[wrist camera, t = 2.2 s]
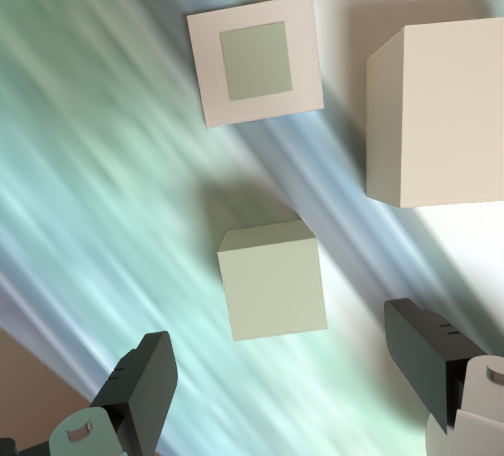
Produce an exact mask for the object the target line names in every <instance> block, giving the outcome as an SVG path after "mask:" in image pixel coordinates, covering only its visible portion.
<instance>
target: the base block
mask: <svg viewBox="0 0 504 456" xmlns="http://www.w3.org/2000/svg"><path fill="white" fill-rule="evenodd" d="M366 197H369V198H372V199H375V200H378V201H381V202H384V203H387V204H390V205H393V206H396V207H399V208H407V207H420V206H434V205H448V204H461V203H475V202H489V201H502V200H504V17H498V18H486V19H475V20H463V21H452V22H440V23H429V24H418V25H406V26H404V27H402V28H401V29H400V30H399V31H398V32H397V33H396V34H395V35H393V36H392V37H391V38H390V39H389V40H388V41H387V42H386V43H385V44H383V45H382V46H381V47H380V48H379V49H378V50H377V51H376V52H375V53H373V54H372V55H371V56H370V57H369V58H368V59H367V60H366Z"/></svg>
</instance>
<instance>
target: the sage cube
mask: <svg viewBox="0 0 504 456" xmlns="http://www.w3.org/2000/svg"><path fill="white" fill-rule="evenodd" d="M217 254H218V260H219V265H220V270H221V276H222V281H223V286H224V292H225V297H226V302H227V308H228V313H229V318H230V324H231V329H232V334H233V340H234V341H241V340H248V339H255V338H263V337H270V336H278V335H285V334H292V333H300V332H307V331H315V330H322V329H327V322H326V313H325V305H324V296H323V288H322V279H321V271H320V262H319V254H318V246H317V238H316V236H315V235H314V234H313V232H312V231H311V230H310V229H309V227H308V226H307V225H306V224H305V222H304V221H303V220H295V221H288V222H282V223H275V224H269V225H262V226H255V227H249V228H242V229H236V230H229V231H226V233H225V235H224V237H223V240H222V242H221V245H220V247H219V249H218V252H217Z"/></svg>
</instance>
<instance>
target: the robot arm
mask: <svg viewBox="0 0 504 456" xmlns="http://www.w3.org/2000/svg"><path fill="white" fill-rule="evenodd" d="M384 314H385V328H386V341H387V346H388V349H389V352H390V354H391V356H392V358H393V360H394V361H395V362H396V364H397V365H398V367H399V368H400V370H401V371H402V372H403V374H404V375H405V377H406V378H407V380H408V381H409V382H410V384H411V385H412V387H413V388H414V390H415V391H416V393H417V394H418V395H419V397H420V398H421V400H422V401H423V403H424V404H425V405H426V407H427V408H428V410H429V411H430V413H431V414H432V415H433V417H434V418H435V420H436V421H437V423H438V424H439V425H440V427H441V428H442V430H443V431H444V433H445V434H446V435H447V436H453V440H452V446H451V452H450V456H504V357H499V356H492V355H487V354H486V353H485V352H484V351H482V350H481V349H480V348H479V347H478V346H476V345H475V344H474V343H473V342H472V341H470V340H469V339H468V338H467V337H466V336H465V335H463V334H462V333H460V332H459V330H457V329H456V328H455V327H454V326H451V324H450V323H449V322H448V321H447V320H445V319H444V318H443V317H442V316H440V315H438V314H436V313H434V312H431V311H429V310H427V309H424V310H421V309H420V308H419V307H417V306H416V305H415V304H414V303H413V302H412V301H411V300H410V299H408V298H401V299H394V300H387V301H385V303H384ZM177 380H178V372H177V366H176V361H175V357H174V353H173V348H172V344H171V340H170V336H169V333H168V332H167V331H162V332H155V333H148V334H145V336H144V337H143V339H142V340H141V342H140V344H139V345H138V347H137V349H132V350H131V351H130V352H128V353H127V354H126V355H125V356H124V357H123V358H121V359H120V361H119V362H118V364H117V365H116V367H115V368H114V371H113V372H112V373H111V375H110V376H109V378H108V380H107V381H106V382H105V384H104V385H103V387H102V388H101V390H100V391H99V393H98V394H97V396H96V397H95V399H94V400H93V402H92V403H91V405H90V407H89V408H86V409H84V410H81V411H78V412H76V413H75V414H73V415H71V416H70V417H68V418H66V419H65V420H64V421H63V422H61V423H60V424H59V425H58V426H57V428H56V429H55V430H54V431H53V433H52V435H51V437H50V439H49V441H46V442H44V443H41V444H38V445H36V446H33V447H31V448H28V449H25V450H23V451H20V452H19V451H18V448H17V446H16V444H15V441H14V440H13V439H11V438H0V456H153V455H154V452H155V449H156V446H157V443H158V440H159V437H160V434H161V431H162V428H163V425H164V422H165V419H166V416H167V413H168V410H169V407H170V404H171V401H172V398H173V395H174V392H175V389H176V386H177Z"/></svg>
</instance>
